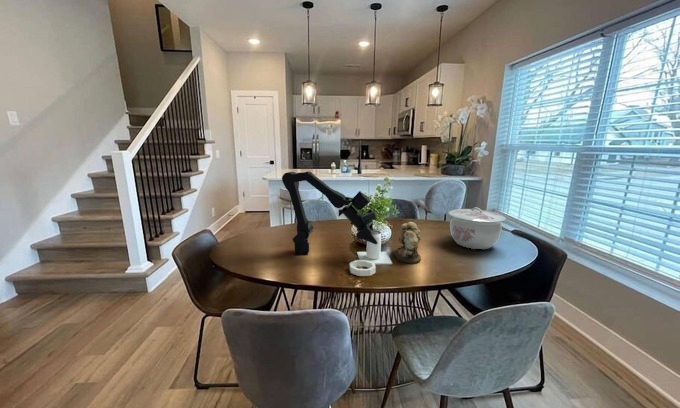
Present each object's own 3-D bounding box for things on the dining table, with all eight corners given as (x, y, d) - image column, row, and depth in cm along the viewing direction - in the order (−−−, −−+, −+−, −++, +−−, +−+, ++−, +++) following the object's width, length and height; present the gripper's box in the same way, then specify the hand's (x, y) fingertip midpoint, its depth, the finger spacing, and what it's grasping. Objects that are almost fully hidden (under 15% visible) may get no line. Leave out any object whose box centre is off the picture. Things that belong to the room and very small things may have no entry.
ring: (351, 276, 115) (351, 270, 114) (349, 265, 125) (349, 260, 125) (376, 275, 115) (377, 270, 115) (372, 265, 126) (372, 259, 125)
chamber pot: (501, 259, 134) (507, 216, 130) (440, 248, 148) (444, 209, 144) (502, 242, 158) (507, 205, 154) (450, 234, 171) (453, 200, 167)
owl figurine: (389, 250, 144) (391, 217, 141) (411, 250, 146) (414, 217, 142) (400, 264, 127) (402, 227, 123) (426, 264, 128) (429, 227, 125)
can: (380, 260, 130) (381, 234, 127) (366, 259, 131) (366, 233, 128) (380, 254, 136) (381, 230, 134) (366, 254, 137) (367, 229, 135)
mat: (360, 264, 126) (360, 263, 126) (357, 253, 140) (357, 251, 140) (392, 264, 127) (392, 263, 127) (385, 252, 141) (385, 251, 140)
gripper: (365, 209, 120) (390, 236, 120) (368, 201, 138) (390, 224, 138) (346, 226, 123) (370, 252, 123) (351, 215, 141) (373, 239, 141)
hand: (377, 241), depth 131 cm, fingers open, 7 cm apart
